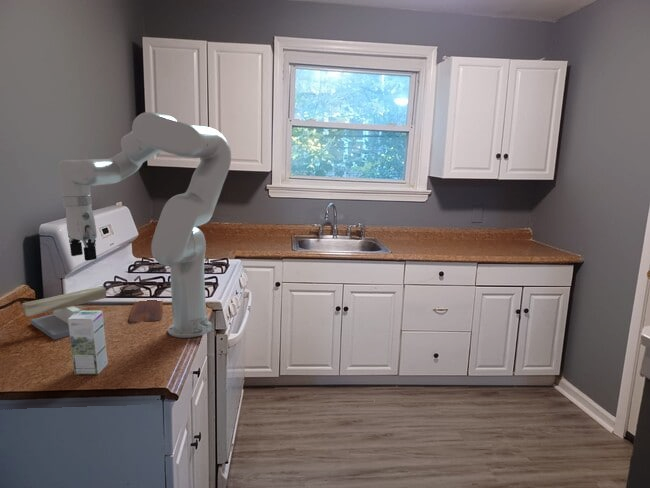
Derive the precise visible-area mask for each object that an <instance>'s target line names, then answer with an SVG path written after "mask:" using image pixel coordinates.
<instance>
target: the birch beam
mask: <svg viewBox="0 0 650 488" xmlns="http://www.w3.org/2000/svg"><path fill="white" fill-rule="evenodd" d="M103 299H107V289H106V287H104V286H97V287H96V286H95V287H90V288H87V289H82V290H77V291H74V292H68V293H64V294H59V295H55V296H51V297H46V298H41V299H36V300H31V301H28V302H27V301H26V302H23V303H22V310H23V311H22V312H23V315H25V316H26V317H31V316H36V315H40V314H44V313H47V312H49V313H50V312H53V310H57V309H62V308H66V307H70V306H74V307H75V306H78V305H82V304H86V303H90V302H94V301H99V300H103Z"/></svg>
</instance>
